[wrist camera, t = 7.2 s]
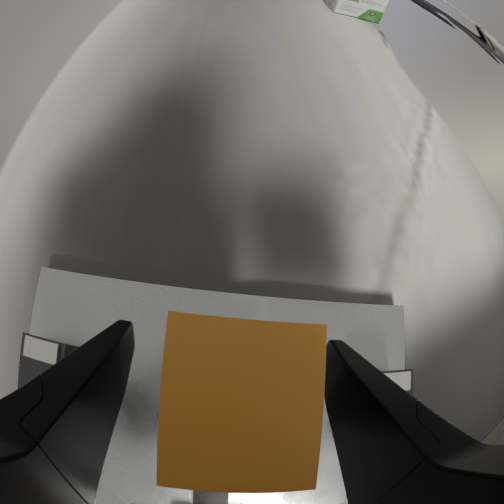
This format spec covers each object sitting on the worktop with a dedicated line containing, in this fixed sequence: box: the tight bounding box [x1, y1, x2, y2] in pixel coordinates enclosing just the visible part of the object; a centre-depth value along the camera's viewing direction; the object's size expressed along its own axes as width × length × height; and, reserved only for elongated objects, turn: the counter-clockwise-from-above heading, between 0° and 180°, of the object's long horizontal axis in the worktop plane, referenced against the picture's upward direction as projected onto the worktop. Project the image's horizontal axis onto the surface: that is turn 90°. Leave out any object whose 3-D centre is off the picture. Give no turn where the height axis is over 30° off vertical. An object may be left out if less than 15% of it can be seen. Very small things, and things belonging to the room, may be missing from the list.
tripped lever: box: [157, 311, 327, 493], centre depth 9 cm, size 3×3×10 cm
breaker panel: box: [18, 267, 413, 504], centre depth 13 cm, size 14×22×4 cm, turn 86°
